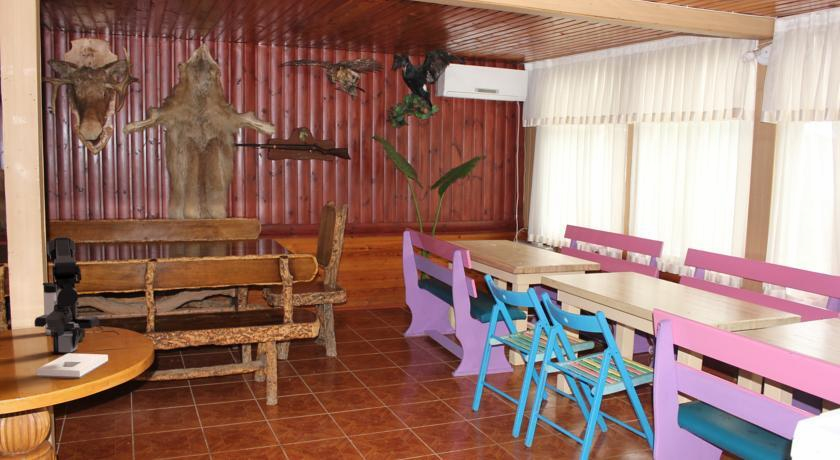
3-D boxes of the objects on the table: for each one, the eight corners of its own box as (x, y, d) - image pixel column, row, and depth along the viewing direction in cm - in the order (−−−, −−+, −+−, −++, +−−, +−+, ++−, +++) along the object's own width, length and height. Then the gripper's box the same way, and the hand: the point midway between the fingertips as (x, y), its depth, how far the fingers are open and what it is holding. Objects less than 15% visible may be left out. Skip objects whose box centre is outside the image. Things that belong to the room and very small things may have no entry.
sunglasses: (65, 337, 274) (65, 324, 274) (102, 332, 286) (102, 320, 285) (84, 343, 265) (84, 330, 265) (121, 339, 277) (122, 326, 277)
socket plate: (36, 376, 224) (36, 369, 224) (68, 360, 242) (67, 353, 242) (79, 378, 224) (79, 370, 223) (107, 361, 242) (107, 354, 241)
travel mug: (48, 331, 280) (46, 281, 278) (65, 331, 281) (64, 281, 279) (41, 335, 274) (39, 284, 272) (59, 335, 275) (57, 284, 272)
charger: (58, 351, 227) (58, 336, 227) (65, 348, 231) (65, 333, 231) (70, 352, 227) (70, 337, 227) (77, 348, 231) (76, 334, 231)
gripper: (22, 304, 220) (24, 353, 222) (81, 306, 219) (82, 355, 221) (43, 297, 231) (45, 343, 233) (99, 299, 230) (100, 345, 232)
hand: (67, 347), depth 229 cm, fingers closed on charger, 4 cm apart
